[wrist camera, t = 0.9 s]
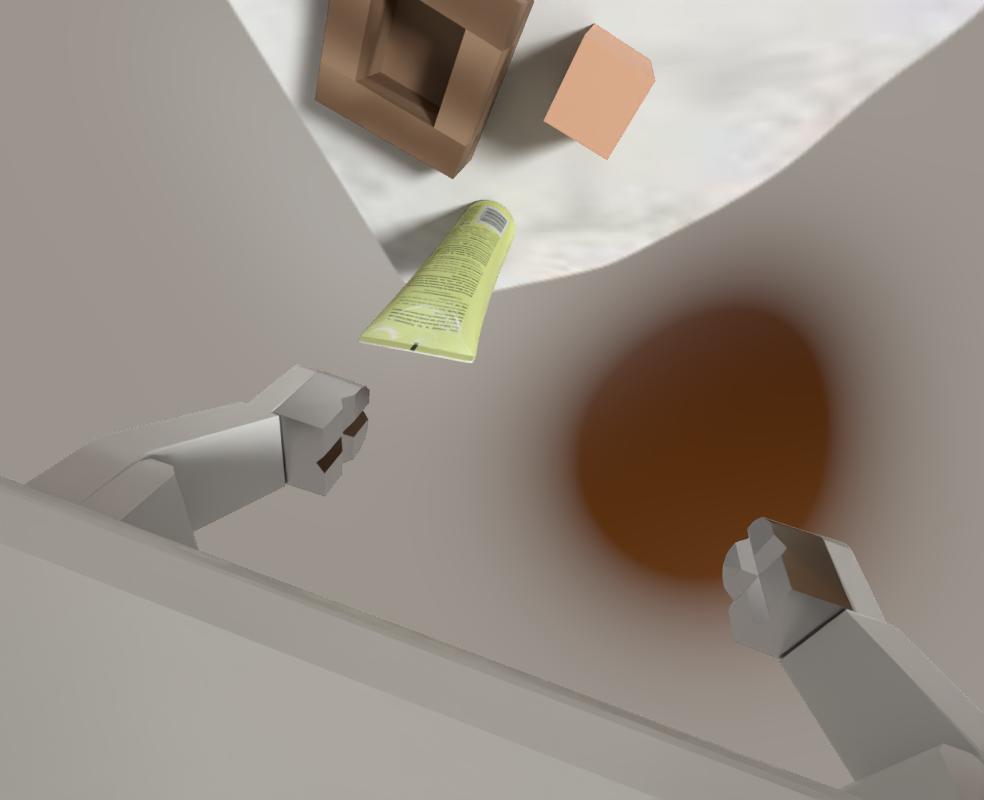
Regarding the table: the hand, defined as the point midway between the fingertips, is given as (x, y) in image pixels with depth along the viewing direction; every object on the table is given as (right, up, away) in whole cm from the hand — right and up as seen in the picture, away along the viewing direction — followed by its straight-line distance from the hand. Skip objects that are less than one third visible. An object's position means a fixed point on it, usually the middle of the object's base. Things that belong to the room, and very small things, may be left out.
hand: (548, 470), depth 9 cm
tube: (-2, +17, +32) cm, 37 cm away
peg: (+7, +24, +23) cm, 34 cm away
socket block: (-5, +27, +24) cm, 37 cm away
